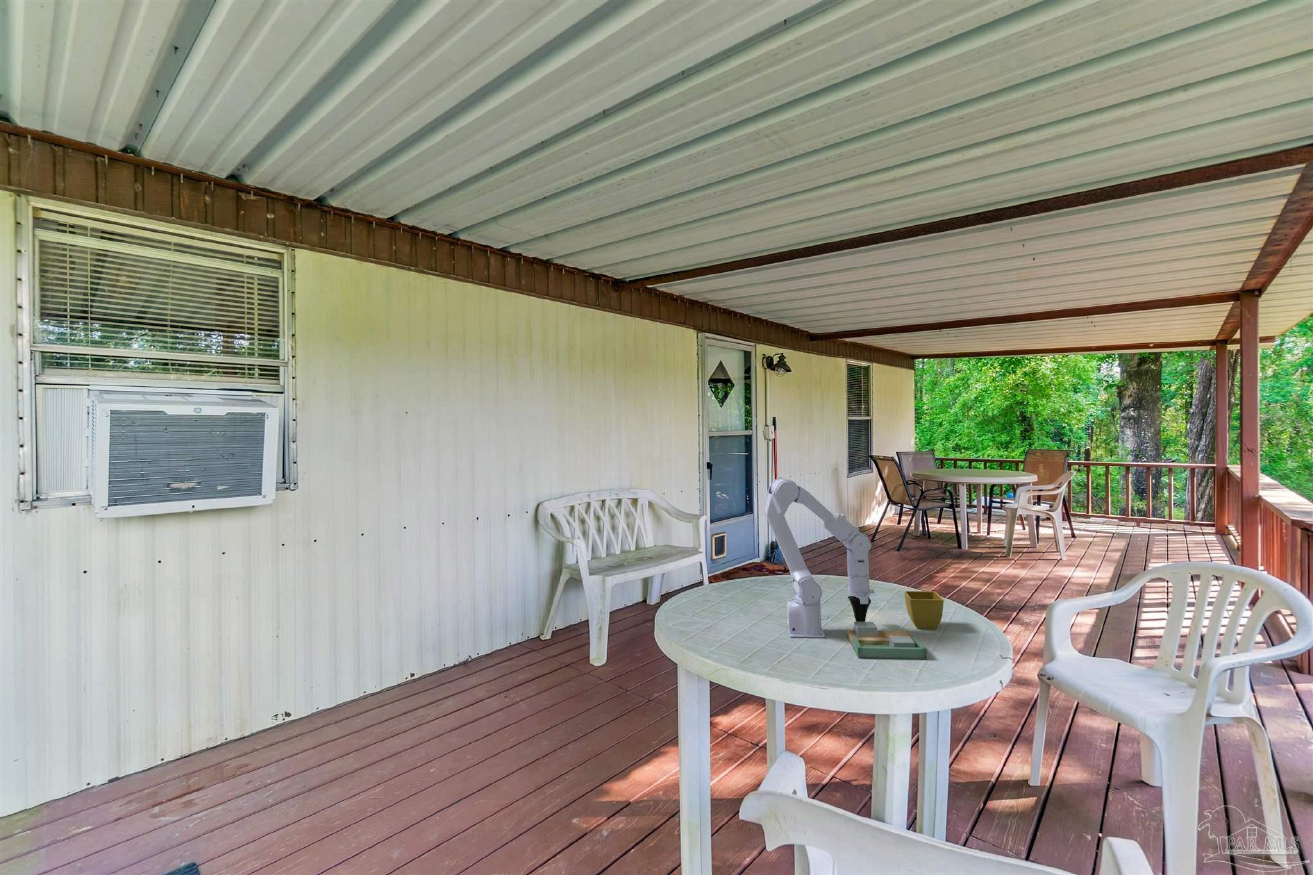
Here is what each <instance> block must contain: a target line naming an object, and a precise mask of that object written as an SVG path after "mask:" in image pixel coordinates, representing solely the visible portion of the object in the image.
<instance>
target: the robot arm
mask: <svg viewBox="0 0 1313 875" xmlns="http://www.w3.org/2000/svg"><path fill="white" fill-rule="evenodd" d="M766 492H767V498H766V503H765V504H766V505H765V510H764V513H765V514H764V515H765V517H766V520H767V522H768V525H769V527H770V528H771V532H772V534H773V536H774V538H775V540H776V543H777V545H778V547H779V550H780V552H781V553H782V556H783V558H784V560H785V563H786V566H787V568H788V570H789V573H790V574H789V575H790V578H791V580H792V584H791V586H792V590H793V591H794V592H793V593H795V595H794V598H793V600H791V601H787V602H786V615H787V616H786V617H787V621H786V628H787V631H788V636H789V637H790V638H825V637H826V635H825V632H824V630H823V628H822V607H821V605H822V604H821V599H822V596H823V590H822V587H821V585H820V584H819V583H817V582H816V580H815V579H814V578H813V575H812V574H811V572H810V570H809V568H808V567H807V565H806V563H805V560H804V558H803V555H802V553H801V551H800V549H799V546H798V544H797V542H796V540H795V537H794V535H793V532H792V531H791V529H790V528H791V527H790V526H789V523H788V522H787V519H786V516H785V514H786V512H787V511H788V509H789V507H790V505H792V503H793V502H794V503H797V504H800V505H803V506H805V507H806V508H807V509H808V510H810V511H811V512H812V513H813V514H815V516H817V517H818V518H820V520H822V521H823V523H824V524H823V525H824V529H825V530H826V531H828V532H829V533H830V535H832V536H834V537H835V538H836V539H837V540H838V541H839V542H840V543H842V544H843V546H844V547H845V548H847V549H846V556H847V557H846V568H847V570H846V571H847V586H848V587H847V594H849V595H848V596H847V598H848V600H849V602H850V605H851V607H852V611H853V617H854V621H855V622H866V618H867V614H868V610H869V607H870V605H871V603H872V600H871V599H870V596H871V594H875V590H874V589H871V588H870V568H869V566H870V563H869V552H870V550H871V548H872V542H870V539H869V537H868V535H866V534H864V533H862V532H860V531H859V530H860V527H858V526H857V525H853V524H852V523H851V522H850V521H849V520H848V519H847V516H846V515H845V514H843V513H841V514H840V512H833V513H832V512H831V511H830V510H828V508H826V507H825V505H823V504H822V503H821V502H820V501H819V500H818V499H817V498H816V497H814V495H812V493H810V492H809V491H808V490H806V489H805V488H803V487H802V486H800V485H798V484H797V483H796V482H795V481H793V480H791V479H786V478H784V477H778V478H775V479H774V480H773V481H772V482H771V483H770V485H769V487H768V489H767V491H766Z"/></svg>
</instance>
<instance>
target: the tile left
mask: <svg viewBox="0 0 1313 875" xmlns="http://www.w3.org/2000/svg"><path fill="white" fill-rule="evenodd" d="M853 630H854V631H855V633H856V635H857V636H858V637H878V636H877V631H878V626H876V624H875V623H874V621H865V622H856V621H853Z"/></svg>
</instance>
